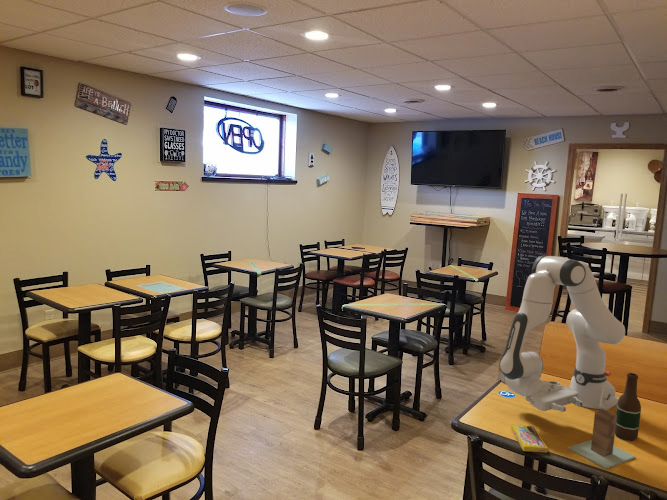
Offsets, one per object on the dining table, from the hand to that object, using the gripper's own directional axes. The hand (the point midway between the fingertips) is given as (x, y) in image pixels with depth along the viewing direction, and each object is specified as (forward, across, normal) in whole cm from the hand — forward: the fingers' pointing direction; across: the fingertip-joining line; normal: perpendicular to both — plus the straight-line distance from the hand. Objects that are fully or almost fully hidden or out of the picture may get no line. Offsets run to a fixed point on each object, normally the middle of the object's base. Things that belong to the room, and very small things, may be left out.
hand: (573, 407), depth 185 cm
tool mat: (+13, -1, +11) cm, 17 cm away
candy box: (-2, -14, +10) cm, 17 cm away
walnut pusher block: (+13, -1, +11) cm, 17 cm away
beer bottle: (+9, +19, +12) cm, 24 cm away
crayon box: (-47, +17, +12) cm, 52 cm away
